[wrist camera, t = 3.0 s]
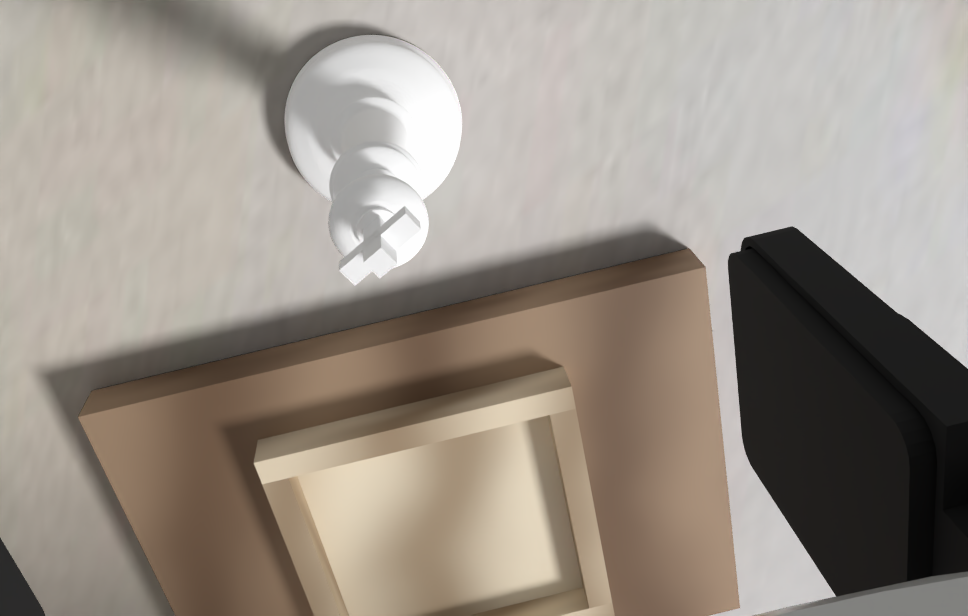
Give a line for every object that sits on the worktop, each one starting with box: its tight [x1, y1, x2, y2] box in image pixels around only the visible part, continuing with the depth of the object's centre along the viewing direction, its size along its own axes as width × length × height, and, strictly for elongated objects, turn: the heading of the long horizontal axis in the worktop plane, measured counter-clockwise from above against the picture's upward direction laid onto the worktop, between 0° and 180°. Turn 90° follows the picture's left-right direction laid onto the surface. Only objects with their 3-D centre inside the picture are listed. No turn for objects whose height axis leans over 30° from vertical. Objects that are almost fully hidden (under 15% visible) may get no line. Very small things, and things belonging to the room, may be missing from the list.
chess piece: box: [284, 35, 462, 285], centre depth 21 cm, size 5×5×10 cm
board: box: [78, 248, 740, 616], centre depth 30 cm, size 19×14×3 cm
